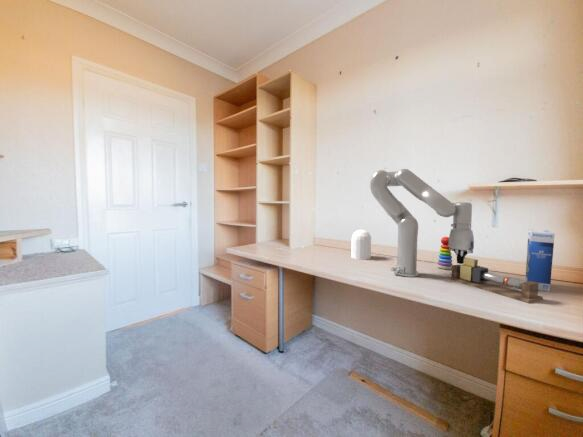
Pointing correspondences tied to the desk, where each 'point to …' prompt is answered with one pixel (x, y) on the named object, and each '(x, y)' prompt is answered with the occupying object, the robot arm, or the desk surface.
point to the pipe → (500, 279)
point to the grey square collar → (478, 274)
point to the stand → (502, 288)
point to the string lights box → (540, 258)
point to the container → (361, 245)
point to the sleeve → (468, 268)
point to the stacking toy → (445, 255)
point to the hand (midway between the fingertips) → (460, 263)
